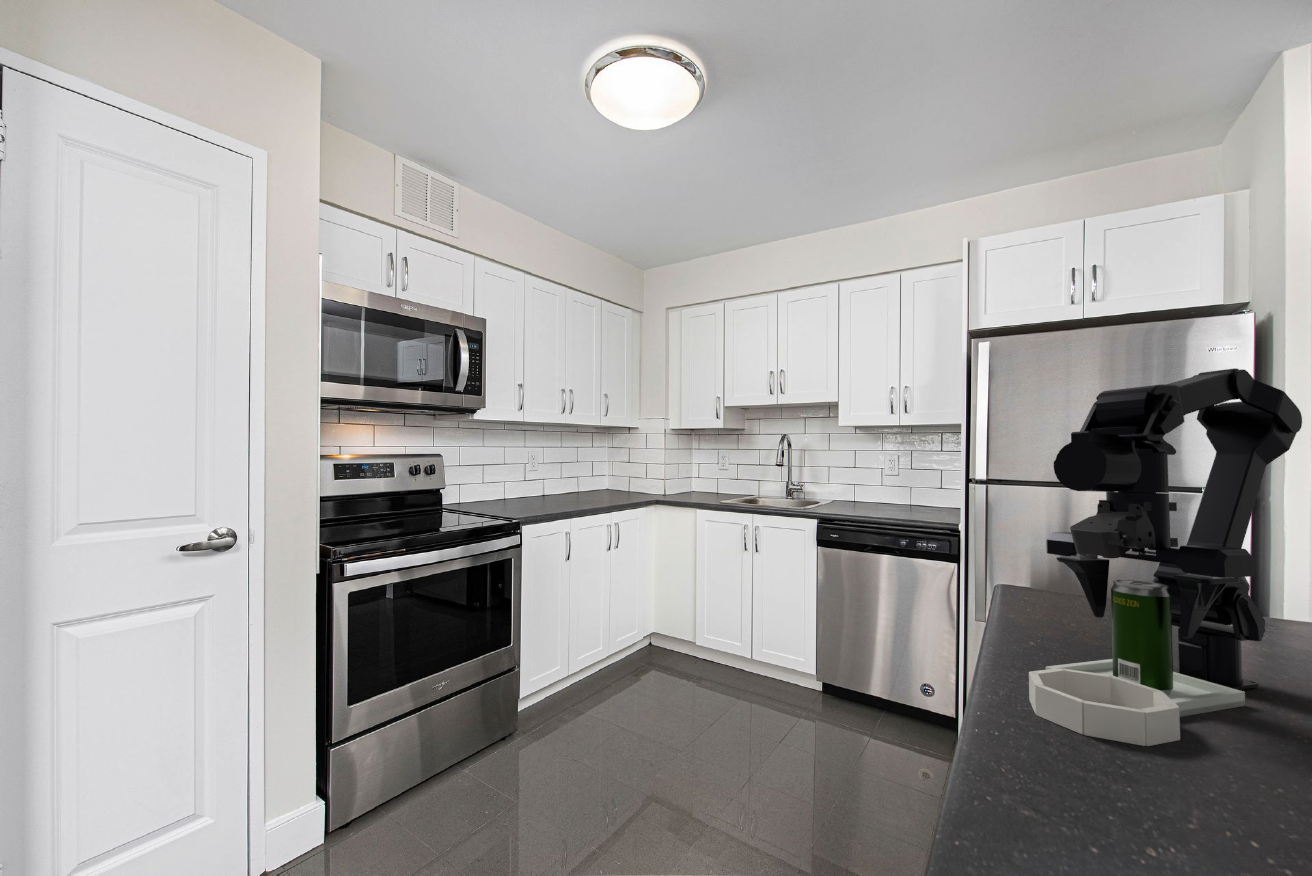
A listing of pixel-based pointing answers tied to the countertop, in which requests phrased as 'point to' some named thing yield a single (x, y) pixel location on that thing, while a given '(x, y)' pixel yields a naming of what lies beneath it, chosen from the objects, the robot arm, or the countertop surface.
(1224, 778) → the countertop surface
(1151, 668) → the beer can
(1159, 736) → the cup
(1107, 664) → the tray
